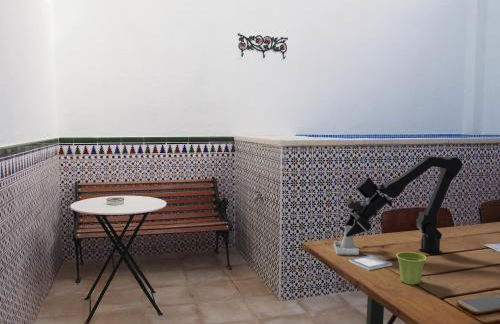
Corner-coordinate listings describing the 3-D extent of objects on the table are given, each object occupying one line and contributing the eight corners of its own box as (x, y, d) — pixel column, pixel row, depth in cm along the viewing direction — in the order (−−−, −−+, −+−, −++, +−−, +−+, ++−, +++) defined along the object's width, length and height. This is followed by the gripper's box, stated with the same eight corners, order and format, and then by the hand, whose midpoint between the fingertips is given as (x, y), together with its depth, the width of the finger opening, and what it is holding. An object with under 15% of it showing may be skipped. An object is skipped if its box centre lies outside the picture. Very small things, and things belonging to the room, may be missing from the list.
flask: (358, 253, 186) (359, 228, 185) (340, 253, 186) (340, 229, 185) (354, 248, 193) (355, 224, 192) (337, 248, 193) (337, 224, 192)
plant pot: (425, 278, 158) (426, 253, 157) (426, 288, 149) (426, 261, 148) (396, 275, 161) (396, 250, 160) (395, 285, 152) (395, 259, 151)
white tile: (392, 265, 171) (392, 262, 171) (368, 270, 166) (369, 267, 166) (371, 257, 181) (371, 254, 181) (348, 261, 176) (348, 259, 176)
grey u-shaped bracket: (354, 246, 195) (354, 240, 194) (358, 255, 184) (358, 247, 183) (333, 246, 195) (333, 239, 195) (336, 254, 184) (337, 247, 184)
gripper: (355, 188, 196) (328, 213, 198) (363, 196, 177) (333, 224, 179) (374, 207, 196) (346, 232, 198) (383, 217, 178) (353, 245, 179)
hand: (344, 233), depth 189 cm, fingers open, 9 cm apart
